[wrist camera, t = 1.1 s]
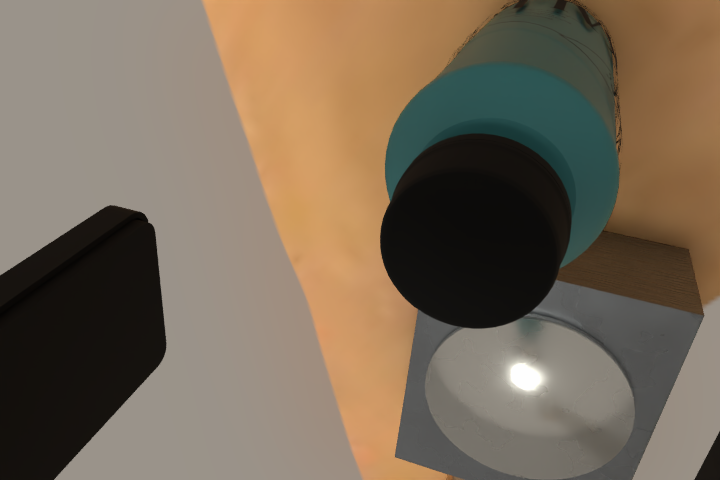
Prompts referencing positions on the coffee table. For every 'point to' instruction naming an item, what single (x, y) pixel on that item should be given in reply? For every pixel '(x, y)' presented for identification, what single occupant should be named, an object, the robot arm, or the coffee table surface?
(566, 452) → the motor housing
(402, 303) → the coffee table surface
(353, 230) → the coffee table surface
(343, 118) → the coffee table surface
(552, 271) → the beverage bottle
